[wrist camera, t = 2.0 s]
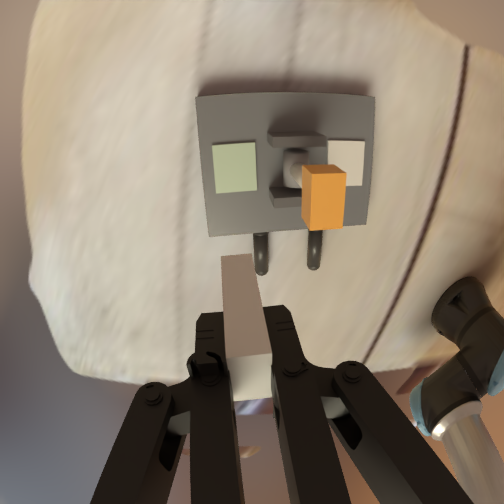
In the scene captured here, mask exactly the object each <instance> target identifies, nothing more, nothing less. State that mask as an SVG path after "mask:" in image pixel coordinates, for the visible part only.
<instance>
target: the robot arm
mask: <svg viewBox="0 0 504 504" xmlns="http://www.w3.org/2000/svg"><path fill="white" fill-rule="evenodd" d="M221 269H222V293H223V312H213V313H201V315H200V317H199V318H198V320H197V322H196V340H195V353H193V354H192V355H191V356H190V357H189V358H188V361H187V364H186V365H187V368H188V372H189V375H190V377H189V378H188V379H186V380H185V381H183V382H181V383H179V384H175V385H172V386H169V387H167V386H166V385H165V384H163V383H160V382H150V383H147V384H145V385H143V386H142V387H140V388H139V390H138V391H137V393H136V394H135V397H134V399H133V401H132V403H131V406H130V408H129V410H128V412H127V415H126V417H125V419H124V422H123V424H122V427H121V429H120V431H119V433H118V436H117V438H116V440H115V443H114V445H113V447H112V450H111V452H110V455H109V457H108V460H107V462H106V464H105V467H104V469H103V472H102V474H101V477H100V479H99V482H98V484H97V487H96V489H95V492H94V495H93V498H92V500H91V502H90V504H167V500H168V497H169V494H170V490H171V487H172V483H173V480H174V476H175V473H176V469H177V466H178V463H179V459H180V456H181V453H182V449H183V445H184V442H185V439H186V436H187V434H188V433H190V483H191V504H245V499H244V491H243V483H242V473H241V464H240V455H239V446H238V436H237V426H236V415H235V409H234V401H241V400H251V399H260V398H269V397H273V418H275V421H276V427H277V432H278V438H279V443H280V449H281V454H282V460H283V465H284V471H285V476H286V482H287V487H288V493H289V498H290V503H291V504H351V501H350V497H349V494H348V490H347V486H346V483H345V479H344V476H343V472H342V469H341V465H340V462H339V458H338V455H337V451H336V448H335V444H334V441H333V437H332V434H331V431H330V427H329V425H330V426H331V428H332V429H333V431H334V432H335V434H336V436H337V437H338V439H339V440H340V442H341V444H342V445H343V447H344V448H345V450H346V451H347V453H348V455H349V456H350V458H351V459H352V461H353V462H354V464H355V466H356V467H357V468H358V470H359V472H360V473H361V475H362V476H363V478H364V479H365V481H366V482H367V484H368V486H369V487H370V489H371V490H372V492H373V493H374V495H375V496H376V498H377V499H378V501H379V502H380V504H504V463H503V460H502V458H501V456H500V454H499V452H498V450H497V448H496V446H495V444H494V442H493V440H492V438H491V436H490V434H489V432H488V430H487V428H486V427H485V425H484V423H483V421H482V419H481V417H480V414H481V411H482V407H483V406H482V403H481V401H480V400H479V399H480V398H482V397H483V396H484V395H485V394H486V393H488V394H489V395H491V396H494V395H496V394H498V393H499V392H500V391H502V390H503V389H504V319H503V317H502V316H501V315H500V314H499V313H498V312H497V311H496V310H495V309H494V307H493V306H492V304H491V302H490V300H489V298H488V296H487V294H486V292H485V288H484V286H483V285H482V284H481V283H480V282H479V281H478V280H477V279H476V278H474V277H467V278H464V279H461V280H459V281H458V282H456V283H455V284H454V285H452V286H451V287H450V288H449V289H448V290H447V291H446V292H445V293H444V294H443V295H442V297H441V298H440V300H439V301H438V303H437V304H436V306H435V308H434V311H433V314H432V324H433V326H434V328H435V329H436V330H437V332H438V333H439V334H441V335H443V336H445V337H446V338H447V339H449V340H450V341H452V342H453V343H455V344H456V345H457V346H458V348H459V349H460V351H459V352H458V353H457V354H456V355H454V356H453V357H452V358H451V359H450V360H449V361H447V362H446V363H445V364H444V365H443V366H441V367H440V368H439V369H438V370H436V371H435V372H434V373H433V374H431V375H430V376H429V377H426V378H424V379H423V381H422V382H421V383H420V384H418V385H417V386H416V387H415V388H414V389H413V390H412V392H411V394H410V407H411V411H412V414H413V417H414V420H415V421H416V422H417V426H418V428H419V429H420V431H421V432H422V433H423V434H424V435H426V436H430V435H431V436H432V438H433V439H434V440H438V441H442V442H443V444H444V447H445V449H446V451H447V454H448V456H449V459H450V461H451V464H452V466H453V469H454V471H455V474H456V477H457V480H458V482H459V483H458V482H457V481H456V479H455V478H454V477H453V476H452V474H451V473H450V472H449V470H448V469H447V468H446V467H445V465H444V464H443V463H442V461H441V460H440V459H439V457H438V456H437V455H436V454H435V452H434V451H433V450H432V448H431V447H430V446H429V445H428V443H427V442H426V441H425V440H424V438H423V437H422V436H421V434H420V433H419V432H418V431H417V430H416V428H415V427H414V426H413V424H412V423H411V422H410V420H409V419H408V418H407V417H406V415H405V414H404V413H403V412H402V410H401V409H400V408H399V407H398V405H397V404H396V403H395V402H394V400H393V399H392V398H391V397H390V395H389V394H388V393H387V392H386V391H385V389H384V388H383V387H382V386H381V384H380V383H379V382H378V380H377V379H376V378H375V377H374V376H373V374H372V373H371V372H370V371H369V369H368V368H367V367H366V366H365V365H363V364H362V363H359V362H357V361H346V362H342V363H341V364H339V365H338V366H337V367H336V369H333V368H323V367H318V366H315V365H313V364H311V363H310V362H308V360H307V359H306V358H305V356H304V354H303V351H302V348H301V345H300V341H299V338H298V335H297V332H296V329H295V325H294V322H293V319H292V315H291V312H290V311H289V310H288V309H287V308H286V307H285V306H284V305H277V306H268V307H262V302H261V297H260V292H259V288H258V283H257V278H256V273H255V268H254V263H253V259H252V254H241V255H230V256H221ZM461 365H462V366H461ZM463 368H464V369H463ZM465 371H466V372H465ZM477 390H478V391H477ZM480 395H481V396H480ZM328 423H329V424H328Z"/></svg>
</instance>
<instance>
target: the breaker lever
mask: <svg viewBox="0 0 504 504" xmlns="http://www.w3.org/2000/svg"><path fill="white" fill-rule="evenodd" d="M346 175H347V173H346V172H344V171H343V170H341V169H340V168H339V167H337V166H336V165H334V164H324V165H309V151H307V150H301V149H289V150H284V151H283V185H284V186H286V187H289V188H302V211H301V217H302V219H303V220H304V222H305V224H306V225H307V227H308V229H309V230H310V231H314V230H327V229H340V228H343V217H344V205H345V191H346Z"/></svg>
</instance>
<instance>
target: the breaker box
mask: <svg viewBox="0 0 504 504" xmlns="http://www.w3.org/2000/svg"><path fill="white" fill-rule="evenodd" d="M195 99H196V112H197V124H198V136H199V148H200V158H201V169H202V179H203V189H204V198H205V207H206V216H207V225H208V233H209V237H215V236H226V235H238V234H249V233H253V239H254V261H255V272H256V273H257V274H258V275H260V276H263V275H265V274H267V272H268V232H273V231H286V230H298V229H308V227H307V225H306V224H305V222H304V220H303V219H302V217H301V211H302V188H289V187H286V186H284V185H283V151H284V150H289V149H301V150H307V151H309V165H324V164H334V165H336V166H337V167H339V168H340V169H341V170H343V171H344V172H346V173H347V175H346V191H345V205H344V217H343V226H352V225H366V221H367V213H368V204H369V194H370V184H371V172H372V158H373V142H374V117H375V97H371V96H361V95H350V94H335V93H314V92H258V93H237V94H222V95H210V96H200V97H195ZM322 233H323V230H314V231H310V230H309V237H308V257H307V266H308V268H309V269H310V270H317V269H318V268H319V267H320V260H321V247H322Z"/></svg>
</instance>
